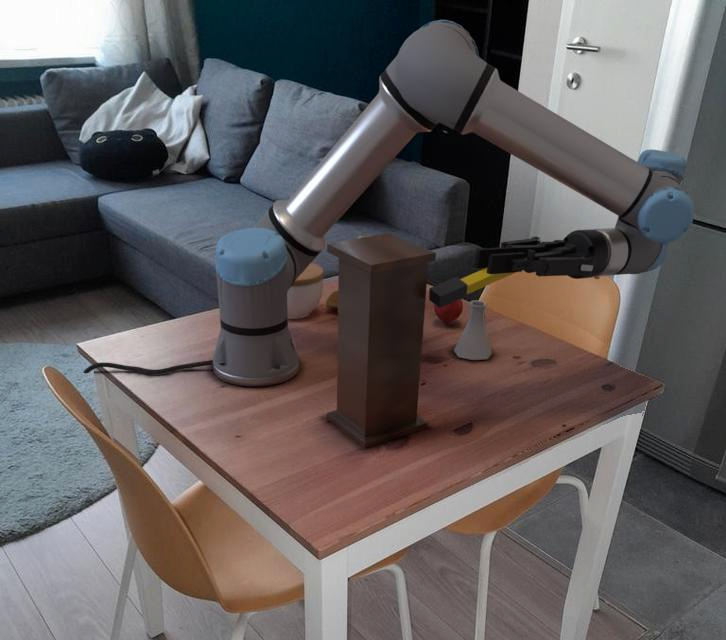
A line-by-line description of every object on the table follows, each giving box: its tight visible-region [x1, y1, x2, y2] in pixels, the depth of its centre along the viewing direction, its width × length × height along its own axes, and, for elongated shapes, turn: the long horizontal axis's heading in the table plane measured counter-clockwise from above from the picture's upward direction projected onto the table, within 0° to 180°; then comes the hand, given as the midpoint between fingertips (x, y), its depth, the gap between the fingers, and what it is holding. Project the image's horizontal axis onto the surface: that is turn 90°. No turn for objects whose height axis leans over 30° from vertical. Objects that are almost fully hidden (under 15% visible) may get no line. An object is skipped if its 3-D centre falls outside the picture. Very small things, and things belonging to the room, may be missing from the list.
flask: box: [453, 299, 493, 361], centre depth 149 cm, size 7×7×10 cm
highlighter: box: [428, 267, 517, 308], centre depth 117 cm, size 16×3×2 cm, turn 123°
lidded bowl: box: [287, 262, 325, 320], centre depth 163 cm, size 13×13×11 cm
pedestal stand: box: [325, 232, 437, 449], centre depth 120 cm, size 12×11×28 cm
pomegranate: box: [433, 298, 464, 325], centre depth 161 cm, size 6×6×8 cm
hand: (483, 261), depth 116 cm, fingers closed on highlighter, 2 cm apart
